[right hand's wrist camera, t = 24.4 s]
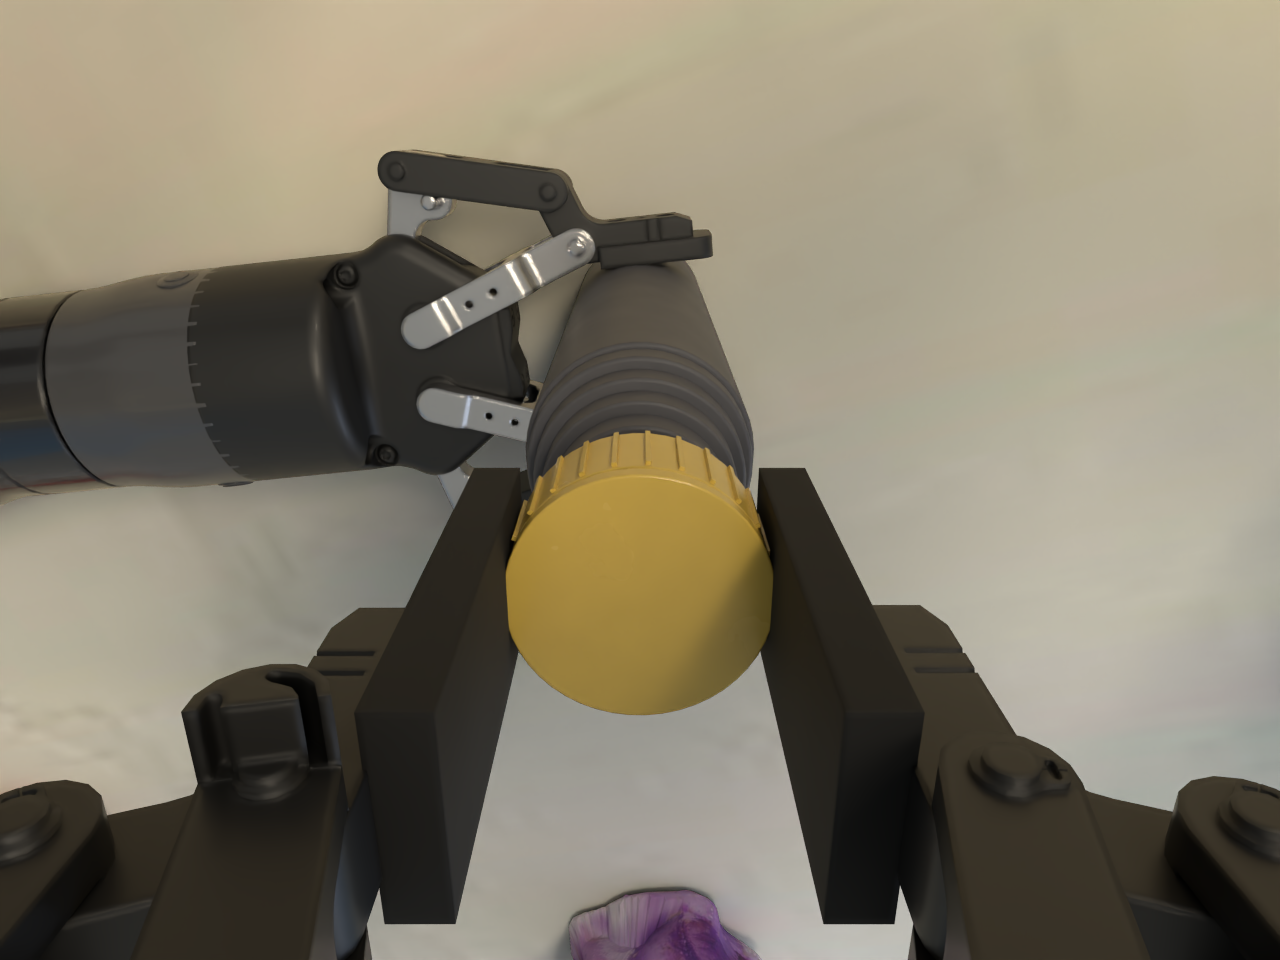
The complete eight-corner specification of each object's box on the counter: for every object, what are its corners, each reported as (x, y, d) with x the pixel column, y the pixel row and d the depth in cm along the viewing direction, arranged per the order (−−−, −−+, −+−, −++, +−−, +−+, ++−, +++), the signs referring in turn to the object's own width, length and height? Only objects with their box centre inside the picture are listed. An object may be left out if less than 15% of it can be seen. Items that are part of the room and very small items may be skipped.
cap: (745, 407, 14) (761, 448, 12) (777, 631, 15) (795, 697, 14) (489, 451, 14) (468, 498, 12) (546, 667, 16) (534, 736, 14)
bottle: (646, 214, 35) (658, 360, 12) (724, 308, 36) (861, 594, 14) (555, 295, 36) (414, 564, 14) (633, 384, 37) (624, 761, 15)
